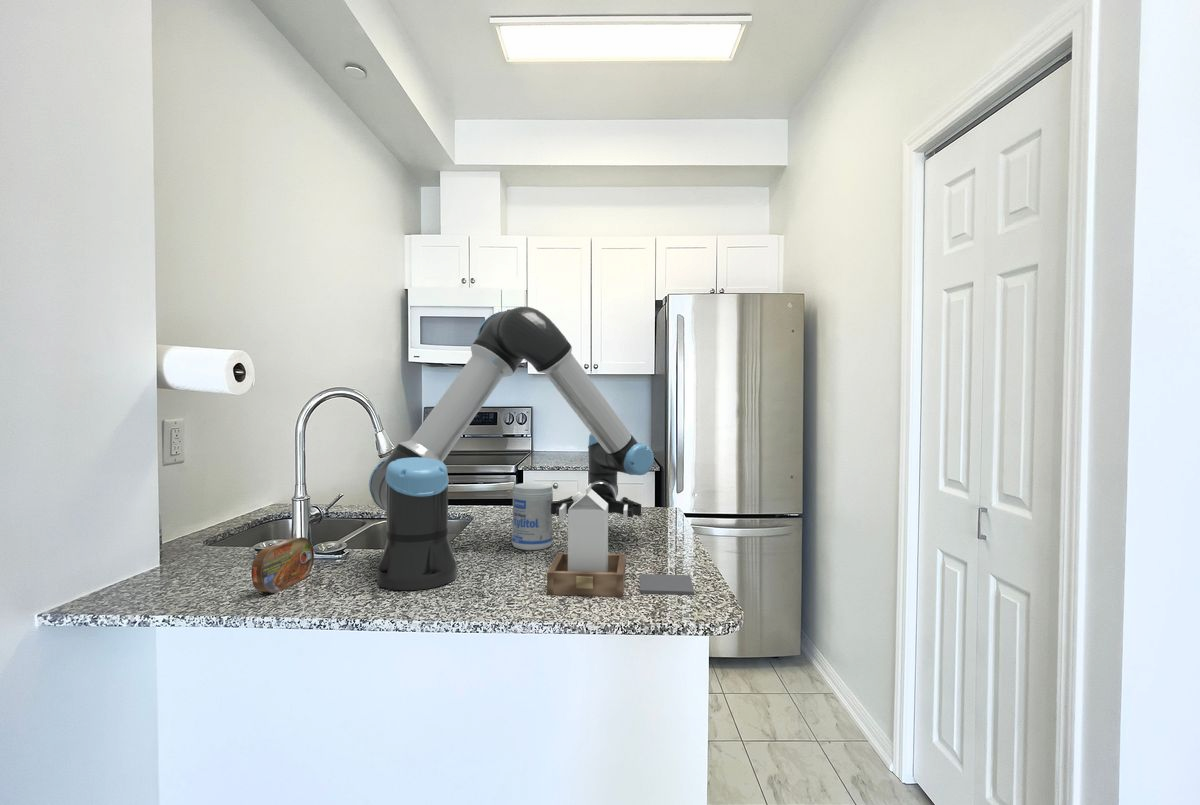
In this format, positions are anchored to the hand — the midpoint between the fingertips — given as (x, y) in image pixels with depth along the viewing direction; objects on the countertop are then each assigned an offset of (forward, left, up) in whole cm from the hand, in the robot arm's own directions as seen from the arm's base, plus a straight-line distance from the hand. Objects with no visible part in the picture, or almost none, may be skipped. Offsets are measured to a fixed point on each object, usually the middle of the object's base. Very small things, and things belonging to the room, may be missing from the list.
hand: (592, 516), depth 127 cm
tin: (-58, -16, -11) cm, 61 cm away
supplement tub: (-16, +17, -11) cm, 26 cm away
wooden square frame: (0, -10, -11) cm, 15 cm away
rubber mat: (+15, -10, -11) cm, 21 cm away
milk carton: (0, -10, -11) cm, 15 cm away
